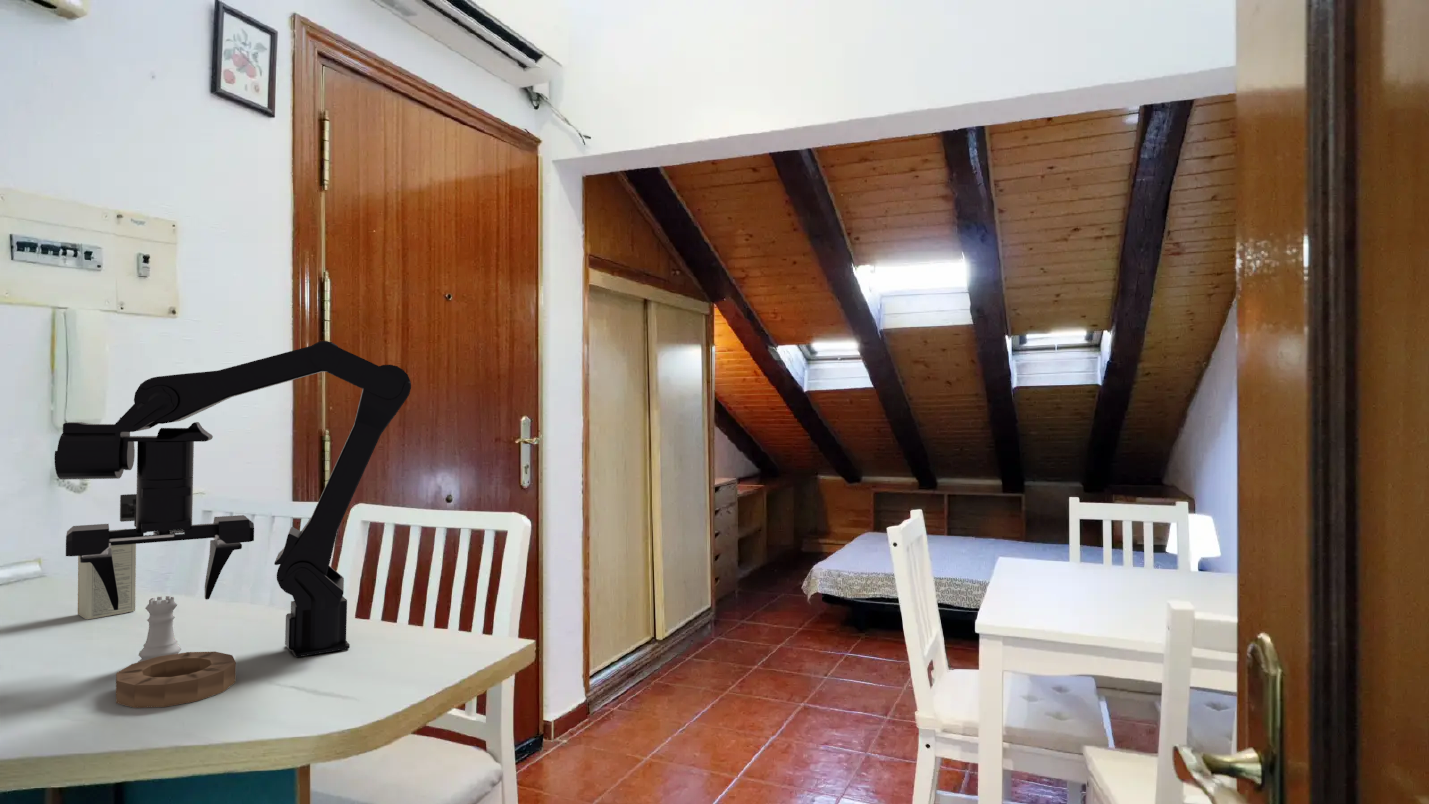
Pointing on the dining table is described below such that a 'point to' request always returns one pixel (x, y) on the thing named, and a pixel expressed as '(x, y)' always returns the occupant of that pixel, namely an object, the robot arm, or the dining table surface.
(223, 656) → the walnut bead ring
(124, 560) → the skincare box
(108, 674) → the dining table surface
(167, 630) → the rook chess piece
